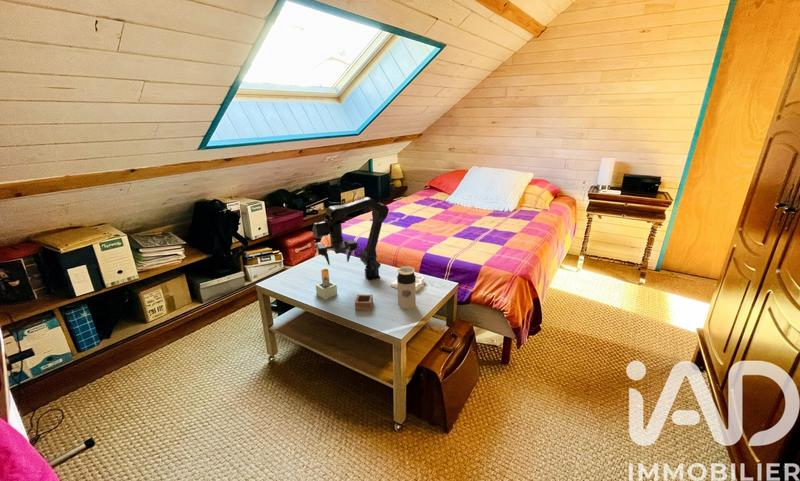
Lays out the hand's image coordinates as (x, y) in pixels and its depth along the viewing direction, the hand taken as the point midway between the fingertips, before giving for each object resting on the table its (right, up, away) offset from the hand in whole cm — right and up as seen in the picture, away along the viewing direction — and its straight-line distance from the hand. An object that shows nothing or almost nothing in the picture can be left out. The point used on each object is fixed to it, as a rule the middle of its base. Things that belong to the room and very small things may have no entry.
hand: (338, 263), depth 176 cm
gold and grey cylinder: (-5, -14, -4) cm, 16 cm away
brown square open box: (+14, -19, -14) cm, 28 cm away
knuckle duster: (+34, -13, +4) cm, 37 cm away
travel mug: (+33, -19, -13) cm, 40 cm away
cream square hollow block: (-5, -15, -3) cm, 16 cm away
